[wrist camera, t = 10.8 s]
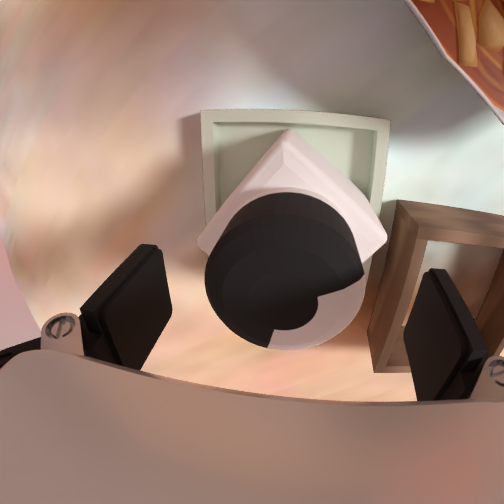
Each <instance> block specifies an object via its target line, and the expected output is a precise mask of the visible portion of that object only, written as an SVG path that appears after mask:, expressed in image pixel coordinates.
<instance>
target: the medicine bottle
mask: <svg viewBox="0 0 504 504" xmlns="http://www.w3.org/2000/svg"><path fill="white" fill-rule="evenodd" d="M386 241H387V234H386V232H385V230H384V228H383V226H382V224H381V223H380V221H379V219H378V217H377V215H376V214H375V212H374V210H373V208H372V207H371V205H370V203H369V202H368V200H367V198H366V196H365V195H364V193H363V192H362V191H360V190H359V189H358V188H357V187H356V186H355V185H354V184H353V183H352V182H351V181H350V180H349V179H348V178H347V177H346V176H345V175H344V174H343V173H342V172H341V171H340V170H339V169H338V168H336V167H335V166H334V165H333V164H332V163H331V162H330V161H329V160H328V159H327V158H326V157H324V156H323V155H322V154H321V153H320V152H319V151H318V150H317V149H315V148H314V147H313V146H312V145H311V144H310V143H309V142H307V141H306V140H305V139H304V138H303V137H302V136H300V135H299V134H298V133H297V132H296V131H295V130H293V129H291V128H289V129H286V130H285V131H284V132H283V133H282V135H281V136H280V137H279V138H278V139H277V140H276V141H275V143H274V144H273V145H272V146H271V147H270V148H269V150H268V151H267V152H266V153H265V154H264V155H263V156H262V158H261V159H260V160H259V161H258V162H257V164H256V165H255V166H254V167H253V168H252V169H251V171H250V172H249V173H248V174H247V175H246V177H245V178H244V179H243V180H242V181H241V183H240V184H239V185H238V186H237V187H236V189H235V190H234V191H233V192H232V193H231V195H230V196H229V197H228V198H227V200H226V201H225V202H224V203H223V205H222V206H221V207H220V209H219V210H218V211H217V213H216V214H215V215H214V217H213V218H212V219H211V221H210V222H209V223H208V225H207V226H206V227H205V229H204V230H203V231H202V233H201V234H200V235H199V237H198V239H197V246H198V247H199V248H200V249H201V250H203V251H204V252H205V253H206V254H208V255H209V258H208V261H207V264H206V269H205V288H206V293H207V296H208V299H209V302H210V304H211V306H212V308H213V310H214V311H215V313H216V314H217V316H218V317H219V318H220V319H221V320H222V322H223V323H224V324H225V325H226V326H227V327H228V328H229V329H230V330H232V331H233V332H234V333H235V334H237V335H238V336H240V337H241V338H243V339H245V340H247V341H249V342H251V343H253V344H256V345H258V346H262V347H265V348H270V349H275V350H300V349H306V348H310V347H314V346H316V345H319V344H322V343H324V342H326V341H328V340H330V339H331V338H333V337H334V336H336V335H337V334H339V333H340V332H342V331H343V330H344V329H345V328H346V327H347V326H348V325H349V324H350V323H351V322H352V320H353V319H354V318H355V316H356V315H357V313H358V311H359V309H360V307H361V305H362V302H363V299H364V295H365V285H366V283H365V273H364V269H363V266H362V263H363V262H364V261H366V260H367V259H368V258H369V257H370V256H371V255H372V254H373V253H375V252H376V251H377V250H378V249H379V248H380V247H381V246H382V245H383V244H384V243H385V242H386Z"/></svg>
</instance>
